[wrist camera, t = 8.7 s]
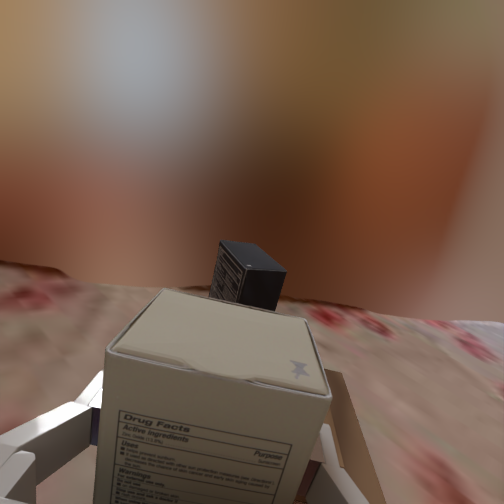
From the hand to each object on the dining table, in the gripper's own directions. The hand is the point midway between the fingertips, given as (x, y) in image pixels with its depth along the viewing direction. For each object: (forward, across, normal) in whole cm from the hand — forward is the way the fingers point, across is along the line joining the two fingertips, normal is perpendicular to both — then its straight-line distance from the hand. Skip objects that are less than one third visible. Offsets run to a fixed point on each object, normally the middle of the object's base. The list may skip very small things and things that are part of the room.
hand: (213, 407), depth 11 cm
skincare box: (-1, 0, +8) cm, 8 cm away
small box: (+27, 0, +13) cm, 30 cm away
